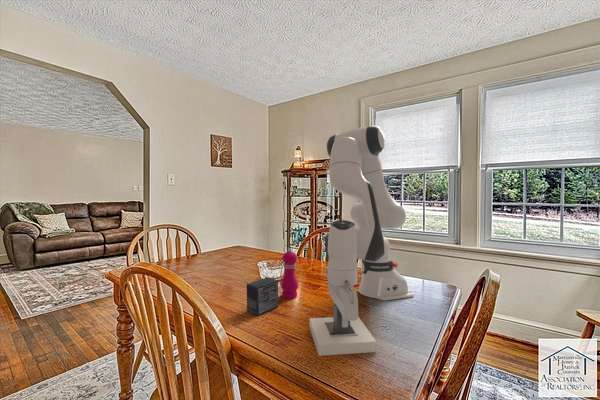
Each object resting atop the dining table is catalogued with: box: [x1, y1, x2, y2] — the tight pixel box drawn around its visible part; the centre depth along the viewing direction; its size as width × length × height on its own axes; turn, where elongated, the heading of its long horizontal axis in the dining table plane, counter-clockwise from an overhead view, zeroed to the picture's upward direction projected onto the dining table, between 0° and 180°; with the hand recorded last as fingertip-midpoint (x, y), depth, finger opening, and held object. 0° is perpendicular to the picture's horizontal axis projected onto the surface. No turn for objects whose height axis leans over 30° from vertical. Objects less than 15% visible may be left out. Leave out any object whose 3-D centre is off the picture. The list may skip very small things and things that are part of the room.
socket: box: [309, 316, 377, 357], centre depth 88 cm, size 16×16×3 cm
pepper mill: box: [280, 247, 299, 300], centre depth 122 cm, size 7×7×20 cm
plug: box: [332, 302, 350, 335], centre depth 88 cm, size 4×4×9 cm
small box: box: [246, 277, 279, 317], centre depth 109 cm, size 11×6×10 cm, turn 141°
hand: (341, 321), depth 88 cm, fingers closed on plug, 4 cm apart
